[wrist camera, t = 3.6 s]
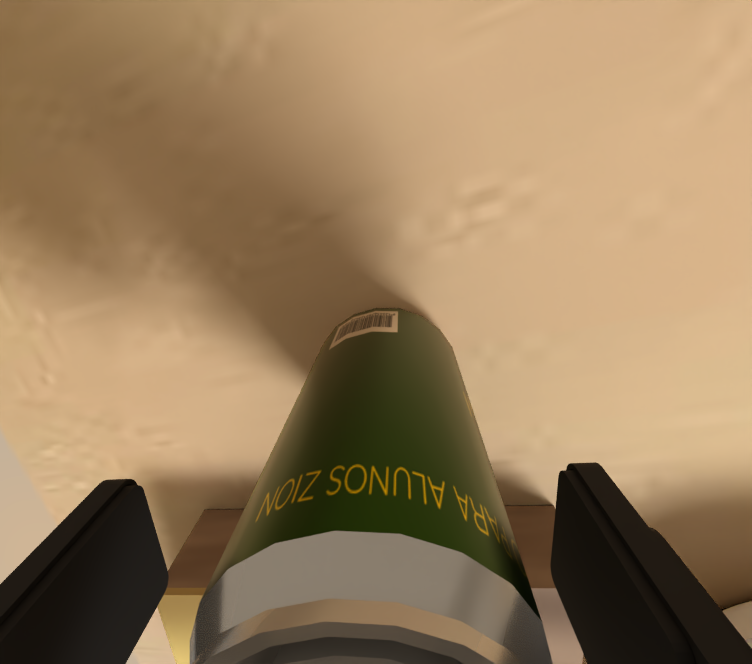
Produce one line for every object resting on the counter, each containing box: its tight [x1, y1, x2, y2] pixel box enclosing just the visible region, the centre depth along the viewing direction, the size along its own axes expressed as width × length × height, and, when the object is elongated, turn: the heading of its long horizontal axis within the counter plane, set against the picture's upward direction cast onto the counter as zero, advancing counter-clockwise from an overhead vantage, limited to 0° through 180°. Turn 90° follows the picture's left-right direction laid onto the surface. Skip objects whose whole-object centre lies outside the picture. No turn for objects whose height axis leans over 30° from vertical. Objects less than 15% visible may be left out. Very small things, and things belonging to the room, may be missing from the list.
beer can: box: [190, 308, 553, 664], centre depth 11 cm, size 5×5×12 cm
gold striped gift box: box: [157, 506, 584, 664], centre depth 19 cm, size 14×16×4 cm
